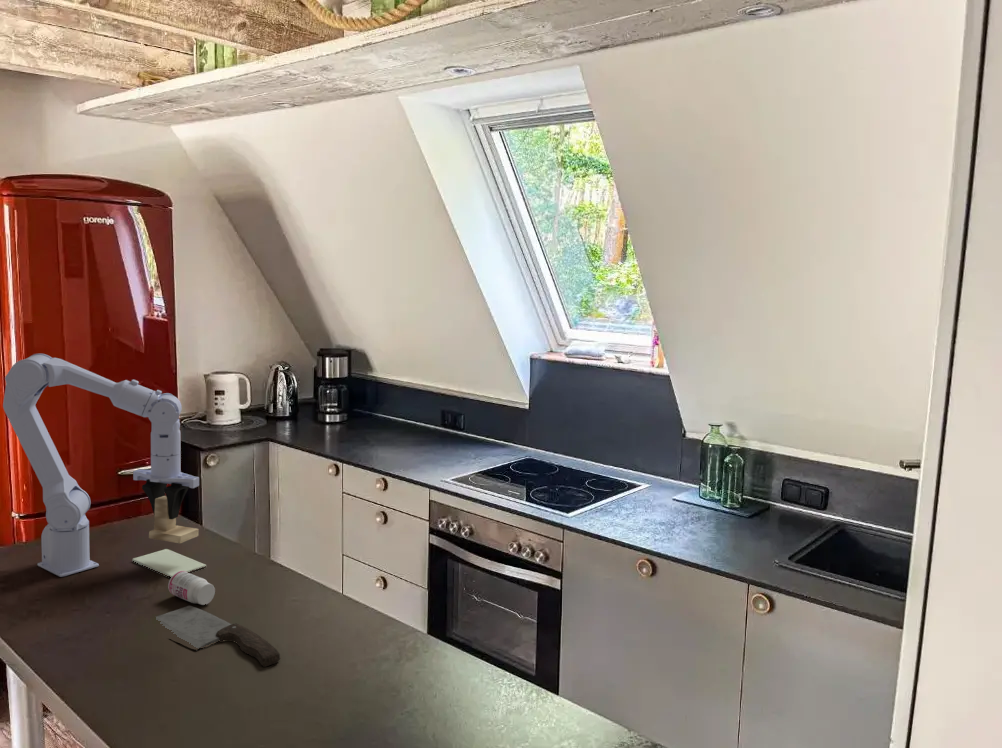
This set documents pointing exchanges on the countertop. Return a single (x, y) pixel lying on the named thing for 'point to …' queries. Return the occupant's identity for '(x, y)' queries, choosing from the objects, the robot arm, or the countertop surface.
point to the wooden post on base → (169, 525)
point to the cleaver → (216, 632)
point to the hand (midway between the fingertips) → (166, 516)
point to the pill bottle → (191, 588)
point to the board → (168, 562)
